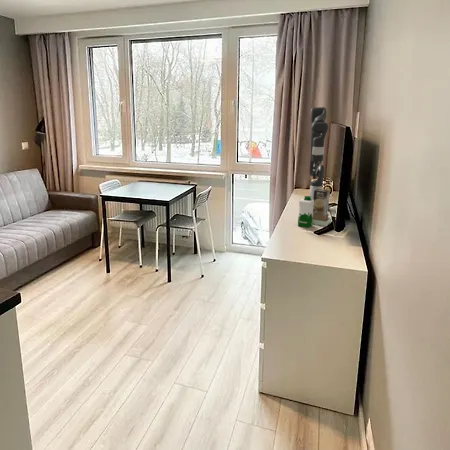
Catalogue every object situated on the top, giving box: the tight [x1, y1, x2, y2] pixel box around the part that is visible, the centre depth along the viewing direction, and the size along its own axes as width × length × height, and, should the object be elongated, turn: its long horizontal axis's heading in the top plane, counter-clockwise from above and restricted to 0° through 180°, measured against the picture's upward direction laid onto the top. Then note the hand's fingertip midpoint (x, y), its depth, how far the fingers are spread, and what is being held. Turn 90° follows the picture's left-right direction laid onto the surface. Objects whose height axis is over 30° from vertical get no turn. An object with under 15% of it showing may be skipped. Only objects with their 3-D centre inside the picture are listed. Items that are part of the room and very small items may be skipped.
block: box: [312, 213, 330, 221], centre depth 258 cm, size 8×10×6 cm
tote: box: [312, 216, 333, 227], centre depth 258 cm, size 12×14×4 cm
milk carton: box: [297, 195, 314, 229], centre depth 249 cm, size 9×9×20 cm
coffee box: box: [313, 188, 330, 216], centre depth 254 cm, size 9×6×16 cm
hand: (316, 177), depth 259 cm, fingers open, 8 cm apart
